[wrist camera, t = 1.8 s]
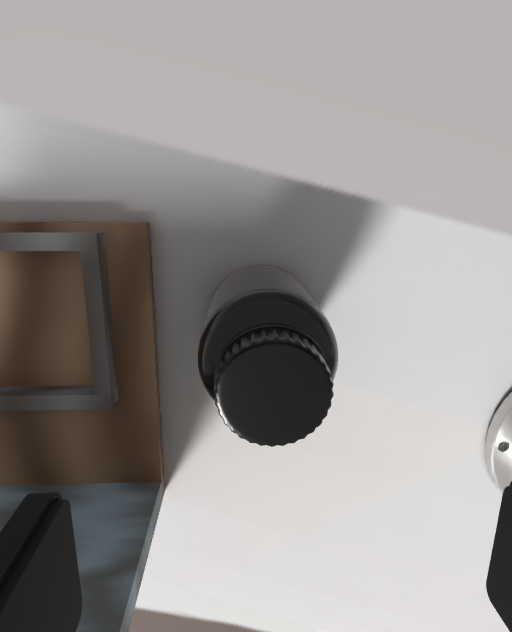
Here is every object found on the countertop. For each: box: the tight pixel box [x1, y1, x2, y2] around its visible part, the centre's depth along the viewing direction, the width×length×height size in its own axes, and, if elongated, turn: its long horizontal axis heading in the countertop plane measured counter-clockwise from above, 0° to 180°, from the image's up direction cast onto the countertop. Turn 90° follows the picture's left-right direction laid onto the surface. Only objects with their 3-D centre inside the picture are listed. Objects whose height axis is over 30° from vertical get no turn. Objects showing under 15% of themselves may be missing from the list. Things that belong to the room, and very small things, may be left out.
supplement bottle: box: [198, 265, 338, 447], centre depth 22 cm, size 7×7×12 cm
